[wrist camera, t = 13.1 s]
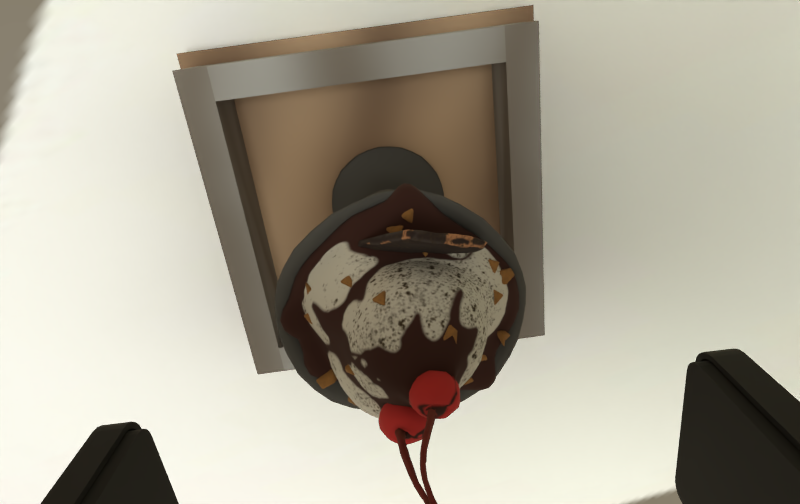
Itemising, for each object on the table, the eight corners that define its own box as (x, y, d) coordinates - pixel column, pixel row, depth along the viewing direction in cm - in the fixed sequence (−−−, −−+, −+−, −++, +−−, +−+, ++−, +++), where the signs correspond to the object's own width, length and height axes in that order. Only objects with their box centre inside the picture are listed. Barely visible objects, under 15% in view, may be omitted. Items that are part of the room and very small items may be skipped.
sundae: (386, 297, 25) (409, 626, 11) (281, 198, 23) (147, 454, 9) (493, 206, 23) (676, 454, 10) (392, 91, 21) (439, 199, 7)
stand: (524, 6, 21) (553, 1, 18) (533, 304, 27) (556, 343, 23) (186, 52, 21) (152, 56, 18) (263, 341, 27) (248, 386, 23)
